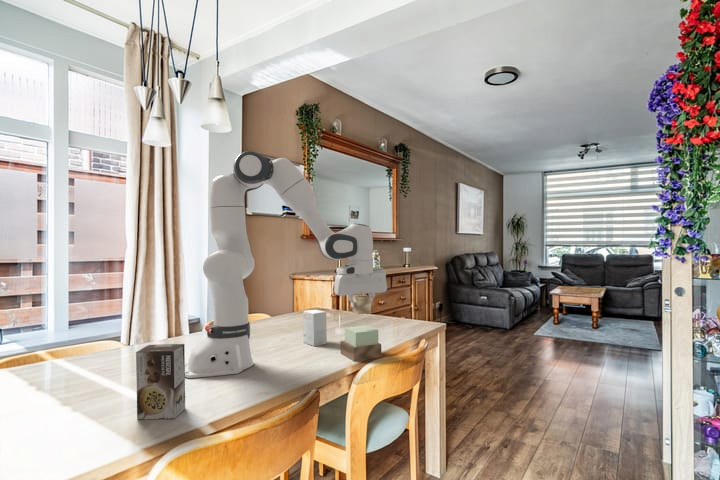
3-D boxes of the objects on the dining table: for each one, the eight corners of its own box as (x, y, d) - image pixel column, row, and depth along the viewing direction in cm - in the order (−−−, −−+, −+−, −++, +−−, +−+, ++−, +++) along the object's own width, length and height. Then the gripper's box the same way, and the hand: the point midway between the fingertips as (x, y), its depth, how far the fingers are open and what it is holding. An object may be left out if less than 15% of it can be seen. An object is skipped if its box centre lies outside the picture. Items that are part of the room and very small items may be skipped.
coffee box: (186, 407, 98) (186, 343, 98) (175, 419, 91) (174, 350, 91) (149, 408, 97) (149, 343, 97) (135, 420, 91) (135, 351, 91)
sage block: (355, 347, 136) (355, 332, 136) (345, 341, 144) (345, 327, 144) (378, 344, 140) (378, 330, 140) (366, 338, 148) (366, 325, 148)
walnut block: (354, 362, 134) (354, 348, 134) (340, 354, 144) (340, 341, 144) (381, 358, 140) (381, 344, 140) (366, 350, 149) (366, 337, 149)
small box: (327, 343, 158) (326, 311, 158) (313, 346, 154) (313, 313, 154) (316, 340, 164) (315, 309, 164) (303, 342, 160) (302, 310, 160)
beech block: (358, 314, 139) (358, 297, 139) (352, 312, 143) (352, 295, 143) (371, 312, 141) (370, 296, 141) (364, 310, 145) (364, 294, 145)
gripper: (381, 266, 150) (381, 302, 150) (332, 268, 140) (332, 307, 140) (390, 267, 144) (390, 305, 144) (339, 269, 135) (339, 310, 135)
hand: (361, 306), depth 142 cm, fingers closed on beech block, 5 cm apart
